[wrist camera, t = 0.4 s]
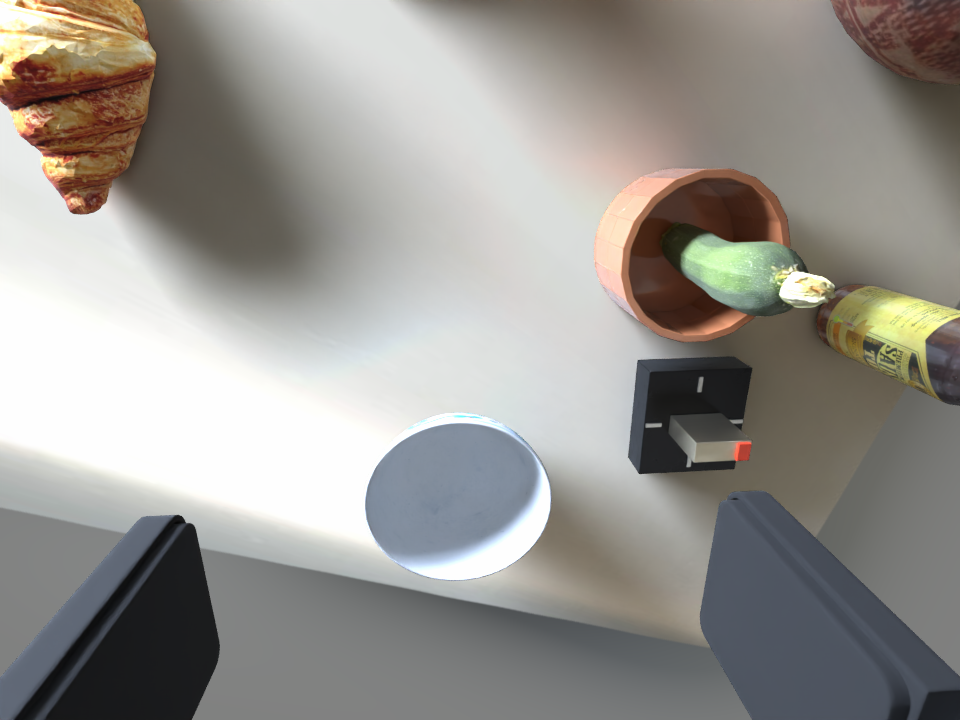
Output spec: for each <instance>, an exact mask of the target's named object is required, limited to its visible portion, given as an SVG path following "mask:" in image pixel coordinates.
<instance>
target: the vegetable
mask: <svg viewBox="0 0 960 720" xmlns="http://www.w3.org/2000/svg"><path fill="white" fill-rule="evenodd" d="M661 237H662V239H661V240H660V242H659V244H660V245H661V247H662V252H663V254H664V257H665V258H666V259H667V260H668V261H669V262H670V263H671V264H672V266H673V267H674V268H675V269H676V270H677V271H678V272H679V273H680V274H682V275H683V276H684V277H686V278H687V279H690V280H691V281H693V282H694V283H695V284H696V285H698V286H699V287H701V288H702V289H703V290H705V291H706V292H707V293H708V294H709V295H710V296H711V297H712V298H714V299H715V300H717V301H719V302H721V303H723V304H725V305H727V306H729V307H731V308H734V309H736V310H738V311H740V312H742V313H744V314H747V315H752V316H764V317H766V316H773V315H777V314H781V313H785V312H787V311H789V310H791V309H792V308H793V307H796V308H811V307H815V306H817V305H818V306H819V305H820V304H822V303H828V301H829V300H828V298H831V299H833V298H835V297H836V295H835V294H834V293H833V292H834V291H835V290H834V287H835V286H834V284H832V283H831V282H830V281H828V280H827V279H826V278H824V277H821V276H817V275H812V274H809V273H808V270H807V268H806V266H805V264H804V262H803V260H802V259H801V257H800V256H799V255H798V254H797V253H796V252H794V251H793V250H791V249H789V248H788V247H786V246H784V245H782V244H779V243H775V242H767V241H763V242H737V243H733V242H729V241H726V240H724V239H721V238H720V237H718V236H717V235H715V234H713V233H711V232H709V231H707V230H704V229H701V228H699V227H697V226H694V225H691V224H687V223H683V224H681V223H679V222H675V223H673V224H672V226H671V227H670V228H668V230H667V231H666V232H665V233H664V234H662V235H661Z"/></svg>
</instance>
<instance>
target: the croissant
mask: <svg viewBox="0 0 960 720" xmlns="http://www.w3.org/2000/svg"><path fill="white" fill-rule="evenodd" d="M156 56H157V54H156V53H155V51H154V50H153V48H152V47H151V45H150V43H149V32H148V30H147V28H146V24H145V20H144V16H143V13H142V11H141V9H140V7H139V6H138V5H137V4H135V3H134V2H133V0H0V101H1V102H2V103H3V104H4V105H6V106H7V107H8V108H9V111H10V113H11V116H12V117H13V119H14V124H15V127H16V129H17V131H18V133H19V135H20V136H21V137H23V138H24V139H25V140H27V141H28V142H29V143H30V144H31V145H33V146H35V147H36V148H37V149H38V150H39V151H40V152H41V153H42V154H43V157H41V164H42V169H43V171H44V173H45V176H46V177H47V178H48V180H49V181H50V182H51V183H52V184H53V186H54V187H55V188H56V189H57V190H58V192H59V193H60V195H61V196H62V197H63V198H64V199H65V201H66V204H67V206H68V208H69V211H70V212H71V213H73V214H89V213H94V212H96V211H97V210H99V209H100V208H101V206H102V205H103V204H105V203H106V201H107V197H108V192H109V188H111V186H112V181H113V180H114V179H115V178H117V177H118V176H120V175H121V174H122V173H123V172H124V171H125V170H126V169H127V168H128V166H129V164H130V160H131V157H132V156H133V154H134V149H135V146H136V141H137V138H138V137H139V135H140V132H141V128H142V125H143V123H145V121H146V118H147V115H148V103H149V96H150V90H151V86H152V82H153V78H154V75H155V73H154V69H155V67H156Z"/></svg>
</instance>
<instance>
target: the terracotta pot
mask: <svg viewBox="0 0 960 720" xmlns="http://www.w3.org/2000/svg"><path fill="white" fill-rule="evenodd" d="M675 222H679V223H681V224H683V223H687V224H691V225H694V226H697V227H699V228H701V229H704V230H707V231H709V232H711V233H713V234H715V235H717V236H718V237H720V238H721V239H724V240H726V241H729V242H733V243H737V242H763V241H767V242H775V243H779V244H782V245H784V246H786V247H788V248H789V249H790V236H789V228H788V219H787V216H786V214H785V212H784V210H783V208H782V206H781V204H780V202H779V200H778V198H777V196H776V195H775V194H774V193H773V192H772V191H771V190H770V189H769V188H767V187H766V186H765V185H764V184H763V183H762V182H761V181H760V180H759V179H757V178H756V177H753V176H750V175H748V174H745V173H742V172H739V171H737V170H734V169H697V168H683V169H662V170H660V171H655V172H653V173H650V174H647V175H645V176H643V177H641V178H639V179H637V180H635V181H634V182H633V183H631V184H630V185H628V186H627V187H626V188H625V189H624V190H622V191H621V192H620V193H619V194H618V195H617V196H616V198H615V199H614V200H613V201H612V202H611V204H610V205H609V207H608V208H607V210H606V212H605V213H604V215H603V217H602V219H601V222H600V224H599V227H598V230H597V234H596V238H595V246H594V260H595V267H596V271H597V275H598V278H599V280H600V283H601V285H602V286H603V288H604V290H605V291H606V293H607V294H608V295H609V296H610V298H611V299H612V300H613V301H614V302H615V303H616V304H618V305H619V306H620V307H622V308H623V309H624V310H625V311H627V312H628V313H629V314H631V315H632V316H633V317H635V318H636V319H637V320H638V321H640V322H641V323H642V324H644V325H645V326H647V327H648V328H649V329H651V330H652V331H653V332H655V333H656V334H657V335H659V336H662V337H666V338H669V339H672V340H676V341H679V342H705V341H710V340H713V339H716V338H719V337H722V336H725V335H728V334H731V333H733V332H734V331H736V330H737V329H739V328H740V327H742V326H743V325H745V324H746V323H748V322H749V321H751V320H752V319H754V317H756V316H752V315H747V314H744V313H742V312H740V311H738V310H736V309H734V308H731V307H729V306H727V305H725V304H723V303H721V302H719V301H717V300H715V299H714V298H712V297H711V296H710V295H709V294H708V293H707V292H706V291H705V290H703V289H702V288H701V287H699V286H698V285H696V284H695V283H694V282H693V281H691V280H690V279H687V278H686V277H684V276H683V275H682V274H680V273H679V272H678V271H677V270H676V269H675V268H674V267H673V266H672V264H671V263H670V262H669V261H668V260H667V259H666V258H665V257H664V254H663V252H662V247H661V245H660V244H659V242H660V240H661V239H662V237H661V235H662V234H664V233H665V232H666V231H667V230H668V228H670V227H671V226H672V224H673V223H675Z"/></svg>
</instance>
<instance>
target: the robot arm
mask: <svg viewBox="0 0 960 720" xmlns="http://www.w3.org/2000/svg"><path fill="white" fill-rule="evenodd" d="M700 624H701V629H702V632H703V634H704V637H705V639H706V640H707V642H708V644H709V645H710V647H711V649H712V651H713V652H714V654H715V656H716V658H717V659H718V661H719V663H720V664H721V666H722V668H723V670H724V672H725V673H726V675H727V677H728V678H729V680H730V682H731V684H732V685H733V687H734V689H735V691H736V692H737V694H738V696H739V698H740V699H741V701H742V703H743V704H744V706H745V708H746V710H747V711H748V713H749V715H750V717H751V718H752V720H960V676H959V675H958V674H956V673H955V672H954V671H953V670H952V669H951V668H950V667H949V666H948V665H947V664H946V663H945V662H944V661H943V660H942V659H941V658H940V657H939V656H938V655H937V654H936V653H935V652H934V651H932V650H931V649H930V648H929V647H928V646H927V645H926V644H925V643H924V642H923V641H922V640H921V639H920V638H919V637H918V636H917V635H916V634H915V633H914V632H913V631H912V630H910V628H909V627H907V625H906V624H904V623H903V622H902V621H901V620H900V619H899V618H898V617H897V616H896V615H895V614H894V613H893V612H892V611H891V610H890V609H889V608H888V607H887V606H886V605H884V603H883V602H881V600H879V599H878V598H877V597H876V596H875V595H874V594H873V593H872V592H871V591H870V590H869V589H868V588H867V587H866V586H865V585H864V584H863V583H862V582H861V581H860V580H859V579H858V578H857V577H855V576H854V575H853V574H852V573H851V572H850V571H849V570H848V569H847V568H846V567H845V566H844V565H843V564H842V563H841V562H840V561H839V560H838V559H837V558H836V557H835V556H834V555H833V554H832V553H831V552H829V551H828V550H827V549H826V548H825V547H824V546H823V545H822V544H821V543H820V542H819V541H818V540H817V539H816V538H815V537H814V536H813V535H812V534H811V533H810V532H809V531H808V530H807V529H806V528H805V527H803V526H802V525H801V524H800V523H799V522H798V521H797V520H796V519H795V518H794V517H793V516H792V515H791V514H790V513H789V512H788V511H787V510H786V509H785V508H784V507H783V506H782V505H781V504H780V503H778V502H777V501H776V500H775V499H774V498H773V497H772V496H771V495H770V494H769V493H767V492H766V491H742V492H732V493H730V494H729V496H728V498H727V500H724V501H722V502H721V503H720V505H719V508H718V514H717V519H716V525H715V531H714V537H713V542H712V548H711V554H710V559H709V565H708V571H707V577H706V582H705V588H704V594H703V599H702V605H701V611H700ZM219 648H220V644H219V638H218V633H217V628H216V624H215V619H214V614H213V609H212V605H211V600H210V596H209V591H208V586H207V581H206V576H205V571H204V566H203V562H202V557H201V552H200V547H199V543H198V538H197V533H196V529H195V527H194V525H193V524H191V523H186V522H185V520H184V518H183V517H182V516H180V515H166V516H146V517H142V518H141V519H139V520H138V521H137V522H136V523H135V524H134V526H133V527H132V528H131V529H130V530H129V531H128V532H127V534H126V535H125V536H124V537H123V538H122V539H121V540H120V542H119V543H118V544H117V545H116V546H115V547H114V548H113V550H112V551H111V552H110V553H109V554H108V555H107V556H106V557H105V559H104V560H103V561H102V562H101V563H100V564H99V566H98V567H97V568H96V569H95V570H94V571H93V573H91V575H90V576H89V577H88V578H87V579H86V580H85V581H84V583H83V584H82V585H81V586H80V587H79V588H78V590H77V591H76V592H75V593H74V594H73V595H72V596H71V597H70V599H69V600H68V601H67V602H66V603H65V604H64V606H62V608H61V609H60V610H59V611H58V612H57V613H56V615H55V616H54V617H53V618H52V619H51V620H50V621H49V623H48V624H47V625H46V626H45V627H44V628H43V630H41V632H40V633H39V634H38V635H37V636H36V637H35V638H34V640H33V641H32V642H31V643H30V644H29V645H28V647H27V648H26V649H25V650H24V651H23V652H22V653H21V654H20V656H19V657H18V658H17V659H16V660H15V661H14V663H12V665H11V666H10V667H9V668H8V669H7V670H6V672H5V673H4V674H3V675H2V676H1V677H0V720H192V718H193V716H194V714H195V711H196V709H197V707H198V705H199V702H200V700H201V698H202V696H203V694H204V691H205V689H206V687H207V685H208V683H209V681H210V679H211V676H212V674H213V672H214V670H215V667H216V665H217V662H218V658H219V650H220V649H219Z"/></svg>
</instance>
